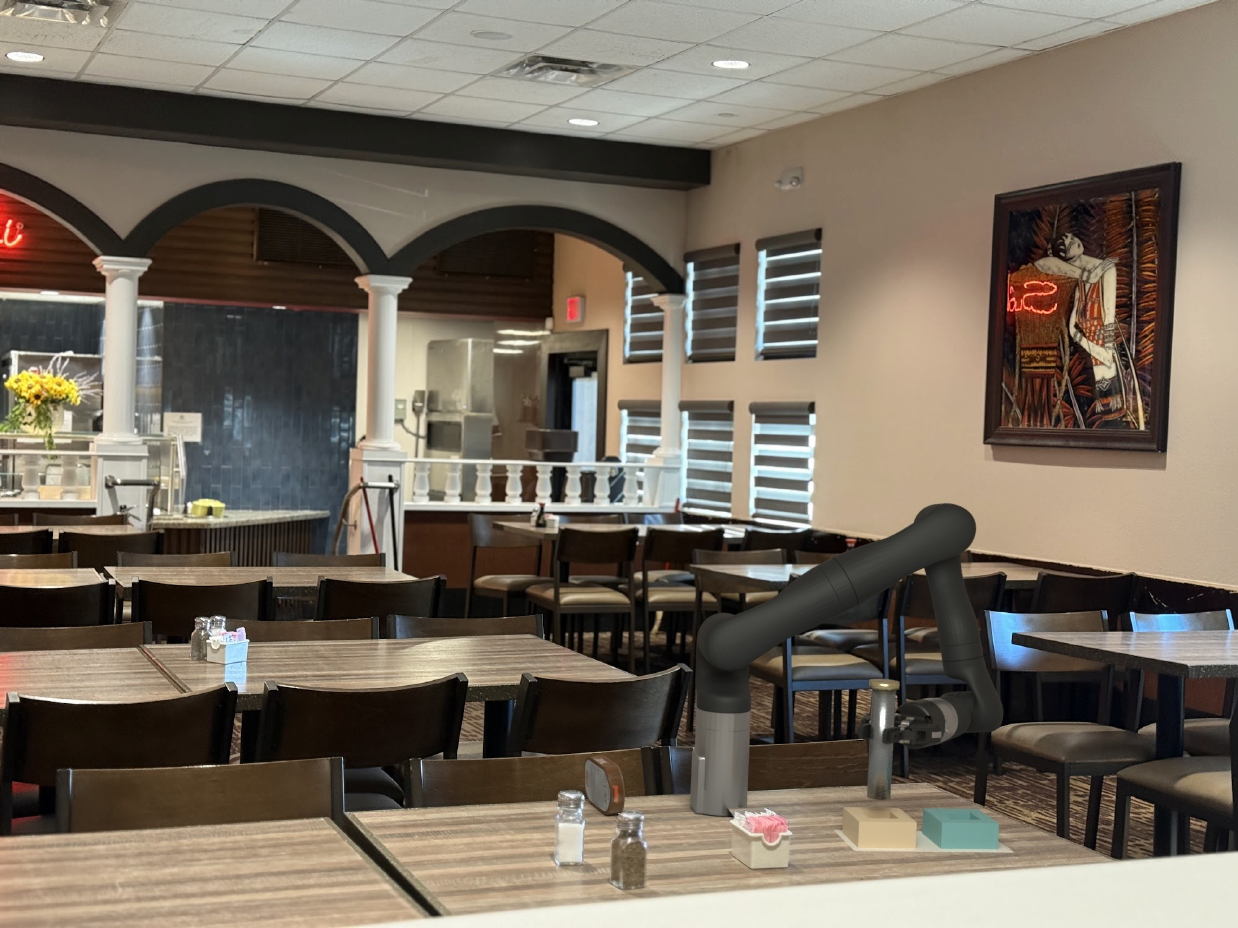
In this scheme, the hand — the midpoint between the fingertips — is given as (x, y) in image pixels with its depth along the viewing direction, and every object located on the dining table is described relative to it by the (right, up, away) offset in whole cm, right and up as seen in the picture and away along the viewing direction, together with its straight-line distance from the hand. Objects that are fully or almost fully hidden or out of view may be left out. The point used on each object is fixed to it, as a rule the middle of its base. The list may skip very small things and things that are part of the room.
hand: (873, 734), depth 222 cm
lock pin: (+1, -10, +2) cm, 10 cm away
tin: (-42, -17, +21) cm, 50 cm away
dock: (+8, -19, +3) cm, 20 cm away
